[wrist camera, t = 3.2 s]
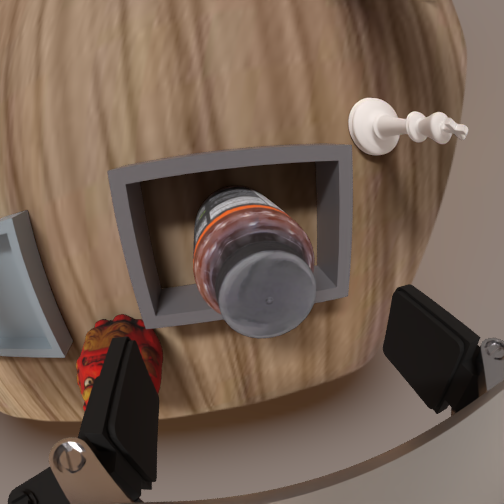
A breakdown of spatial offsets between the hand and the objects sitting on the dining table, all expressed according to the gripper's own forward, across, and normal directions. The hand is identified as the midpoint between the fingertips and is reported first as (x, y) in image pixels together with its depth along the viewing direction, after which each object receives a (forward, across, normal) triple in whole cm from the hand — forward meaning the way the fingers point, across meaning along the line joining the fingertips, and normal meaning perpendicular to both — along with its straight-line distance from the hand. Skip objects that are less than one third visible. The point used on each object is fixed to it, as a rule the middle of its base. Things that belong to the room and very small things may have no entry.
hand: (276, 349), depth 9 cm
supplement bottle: (+14, 0, -1) cm, 14 cm away
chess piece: (+13, -12, -8) cm, 20 cm away
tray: (+14, +25, +2) cm, 28 cm away
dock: (+13, 0, -1) cm, 13 cm away
